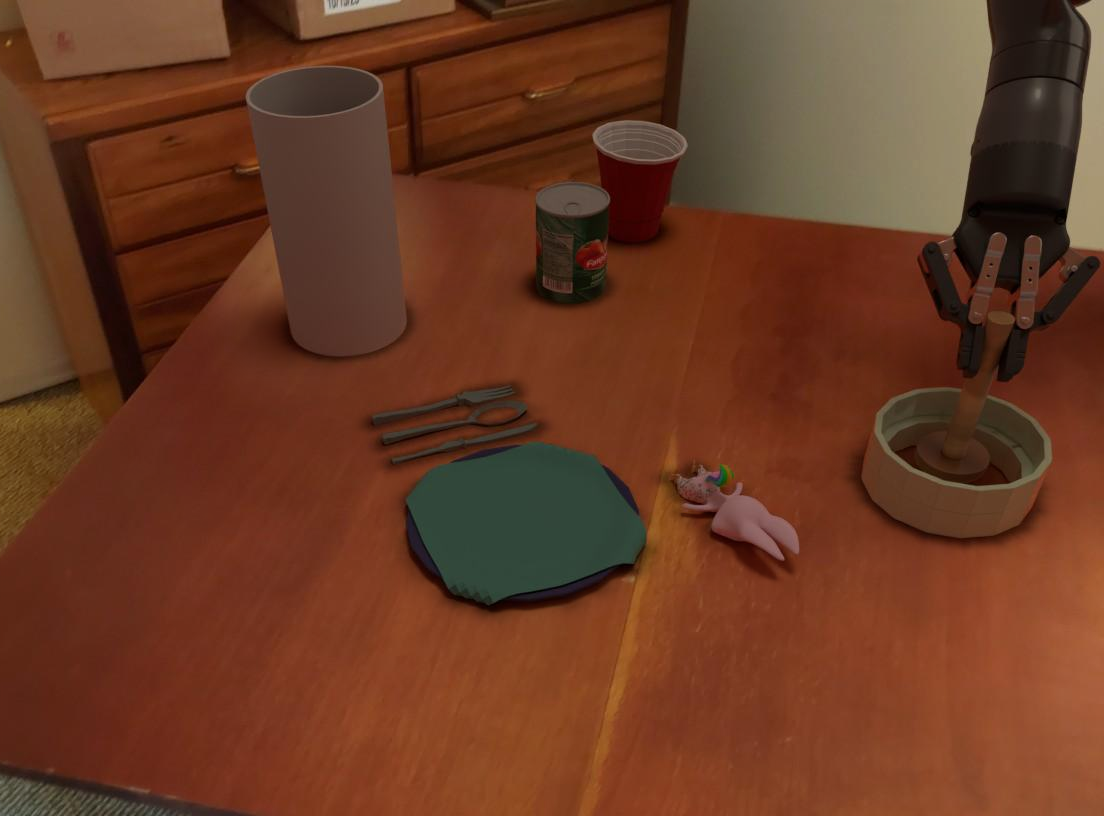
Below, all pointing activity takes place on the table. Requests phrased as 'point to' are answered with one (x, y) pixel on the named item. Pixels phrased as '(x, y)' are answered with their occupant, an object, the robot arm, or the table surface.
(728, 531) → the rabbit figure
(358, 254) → the cylinder vase
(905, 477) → the ring
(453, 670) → the table surface
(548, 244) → the canned tomato
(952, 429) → the wooden peg on disc
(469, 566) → the cutlery set
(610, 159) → the plastic cup
